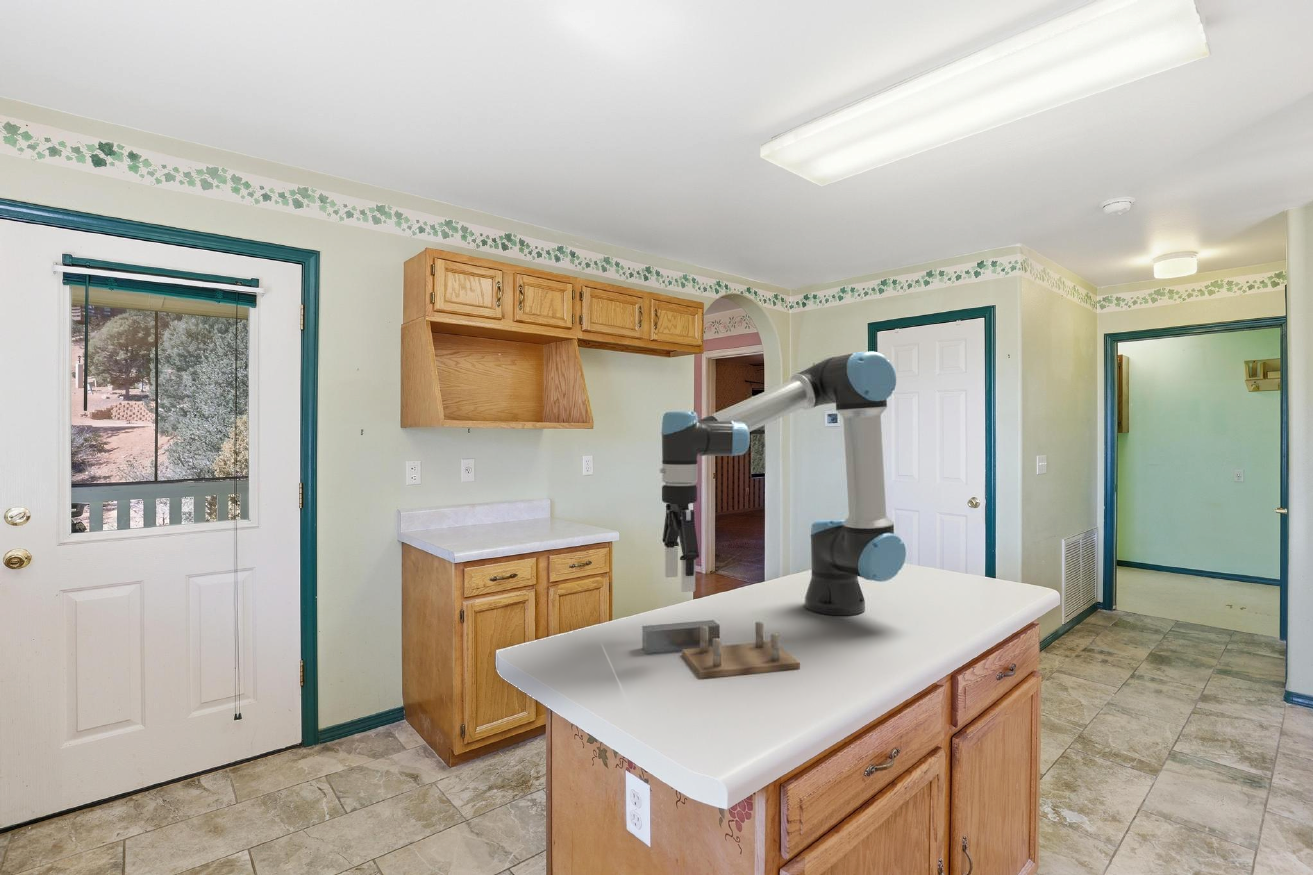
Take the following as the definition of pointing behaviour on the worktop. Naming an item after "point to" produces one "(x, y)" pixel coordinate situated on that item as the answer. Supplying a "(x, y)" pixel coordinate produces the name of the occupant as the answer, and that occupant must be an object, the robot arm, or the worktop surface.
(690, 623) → the steel bar
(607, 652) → the worktop surface
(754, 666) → the peg rack
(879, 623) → the worktop surface
